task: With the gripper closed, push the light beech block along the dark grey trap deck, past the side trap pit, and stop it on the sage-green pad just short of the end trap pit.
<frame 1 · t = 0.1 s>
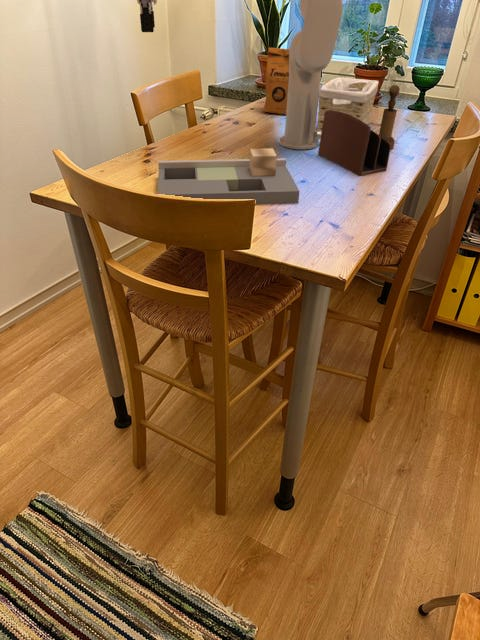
hand: (148, 29, 126), 31 cm above the table, tool pointing down, fingers open, 9 cm apart
trap deck: (225, 189, 119), on the table
coffee package: (279, 113, 181), on the table
letter holder: (350, 163, 137), on the table
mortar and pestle: (382, 147, 150), on the table
dixie cup: (346, 114, 181), on the table
beech block: (262, 171, 121), point 3 cm above the table, touching trap deck
storage basket: (343, 130, 165), on the table
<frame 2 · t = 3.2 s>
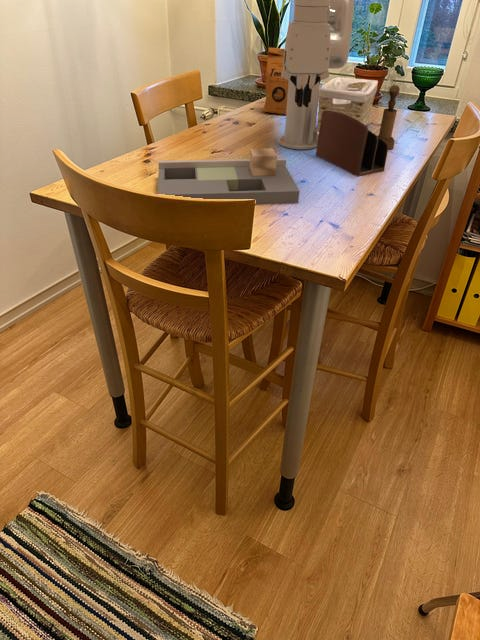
hand: (302, 105, 112), 19 cm above the table, tool pointing down, fingers closed
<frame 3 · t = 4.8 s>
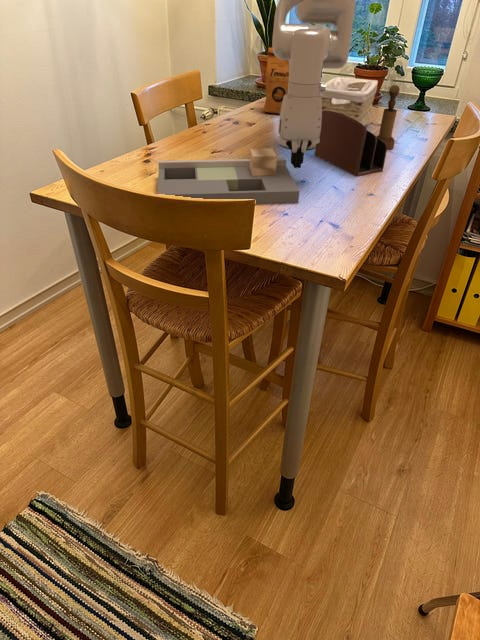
hand: (296, 166, 121), 4 cm above the table, tool pointing down, fingers closed
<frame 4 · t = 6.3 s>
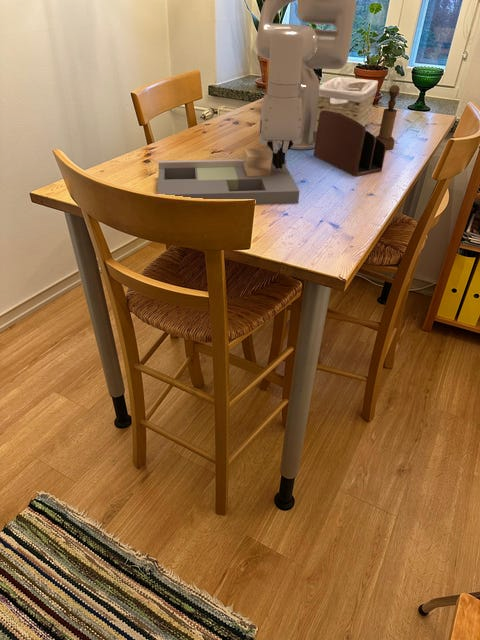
hand: (278, 166, 121), 4 cm above the table, tool pointing down, fingers closed
beech block: (256, 171, 121), point 3 cm above the table, touching gripper, trap deck
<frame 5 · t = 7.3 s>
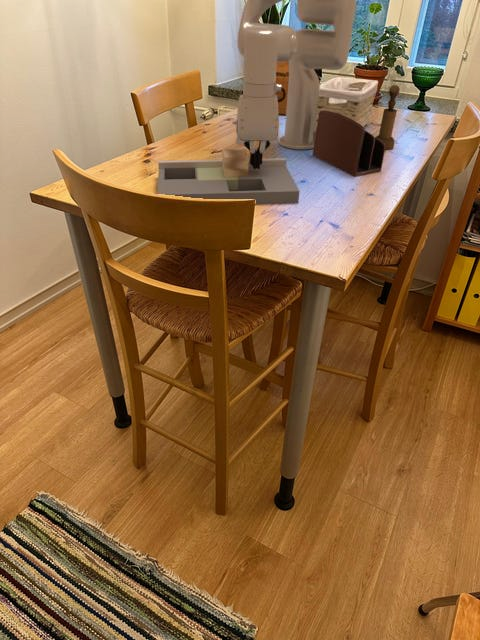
hand: (255, 167, 120), 4 cm above the table, tool pointing down, fingers closed
beech block: (235, 172, 120), point 3 cm above the table, touching gripper
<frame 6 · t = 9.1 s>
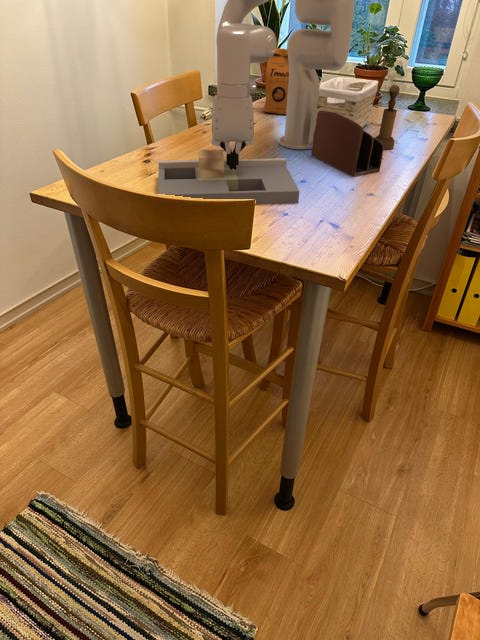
hand: (232, 167, 120), 4 cm above the table, tool pointing down, fingers closed
beech block: (211, 173, 120), point 3 cm above the table, touching gripper, trap deck
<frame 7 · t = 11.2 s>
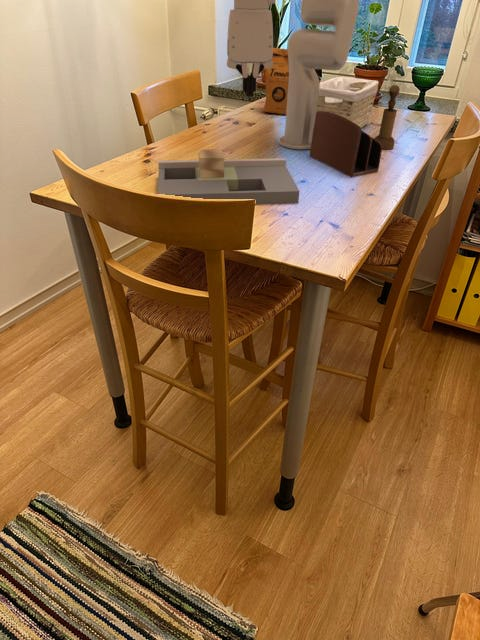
hand: (249, 95, 111), 21 cm above the table, tool pointing down, fingers closed
beech block: (211, 173, 120), point 3 cm above the table, touching trap deck
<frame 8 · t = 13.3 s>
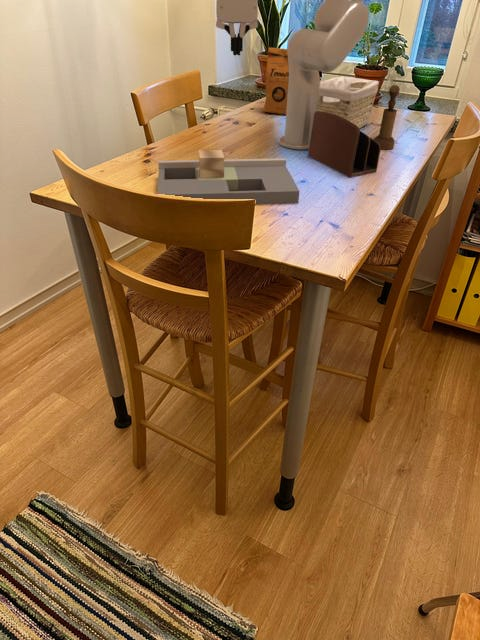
hand: (236, 54, 122), 27 cm above the table, tool pointing down, fingers closed
at the end: beech block inside the target area on the trap deck (1.9 cm from its centre), point 3.0 cm above the trap deck's base; beech block tilted 0°; beech block moved 13.4 cm from its start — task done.
